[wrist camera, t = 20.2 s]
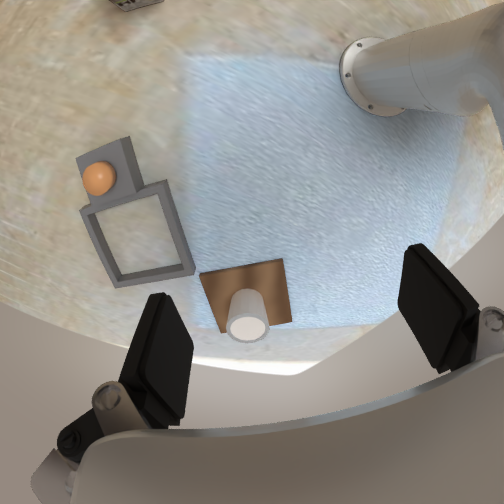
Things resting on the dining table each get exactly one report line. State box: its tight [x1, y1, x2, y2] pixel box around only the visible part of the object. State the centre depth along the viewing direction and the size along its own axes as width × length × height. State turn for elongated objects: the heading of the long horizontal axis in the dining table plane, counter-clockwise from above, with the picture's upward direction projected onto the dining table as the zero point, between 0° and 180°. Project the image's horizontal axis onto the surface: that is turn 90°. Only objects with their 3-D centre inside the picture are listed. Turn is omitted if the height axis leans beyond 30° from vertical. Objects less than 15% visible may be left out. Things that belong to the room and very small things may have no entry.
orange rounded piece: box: [83, 161, 116, 196], centre depth 33 cm, size 4×4×4 cm
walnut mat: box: [199, 258, 292, 333], centre depth 48 cm, size 14×14×1 cm
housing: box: [76, 136, 196, 288], centre depth 38 cm, size 15×23×4 cm, turn 11°
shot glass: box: [226, 289, 270, 343], centre depth 45 cm, size 7×7×7 cm
